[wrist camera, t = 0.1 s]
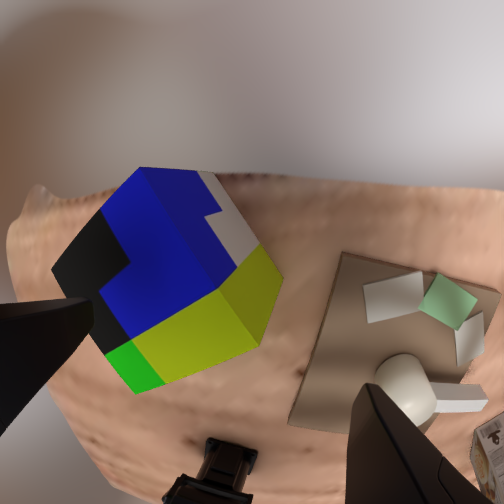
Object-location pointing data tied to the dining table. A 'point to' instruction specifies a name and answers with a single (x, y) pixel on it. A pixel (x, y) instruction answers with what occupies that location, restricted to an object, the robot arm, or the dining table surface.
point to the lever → (425, 390)
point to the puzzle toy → (170, 277)
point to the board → (389, 335)
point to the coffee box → (490, 458)
